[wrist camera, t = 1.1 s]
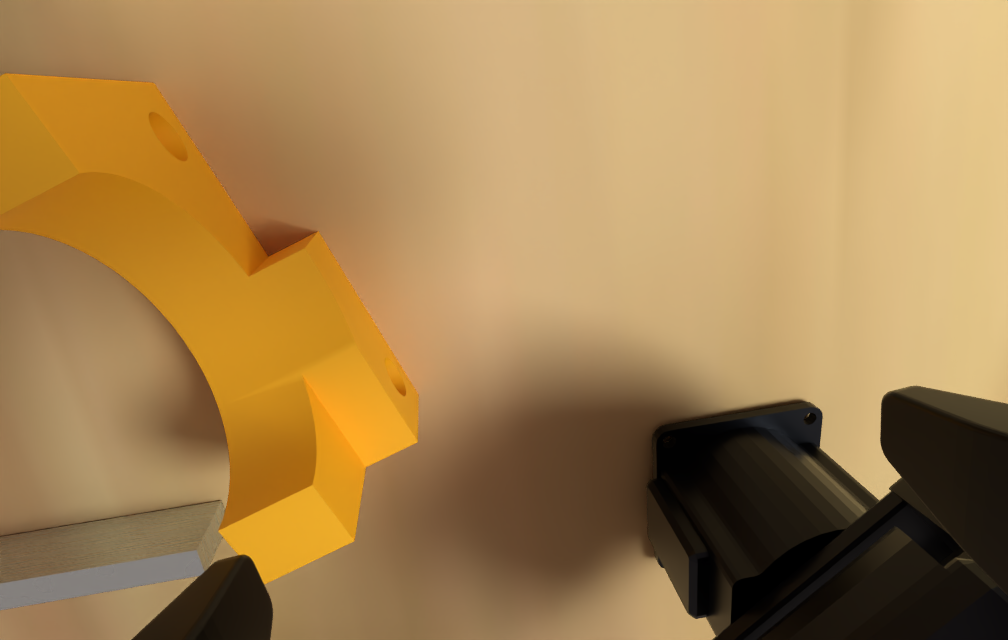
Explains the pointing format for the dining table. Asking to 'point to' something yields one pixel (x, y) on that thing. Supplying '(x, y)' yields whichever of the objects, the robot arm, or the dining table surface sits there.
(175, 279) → the pipe clamp
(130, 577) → the rail bay
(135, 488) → the dining table surface
